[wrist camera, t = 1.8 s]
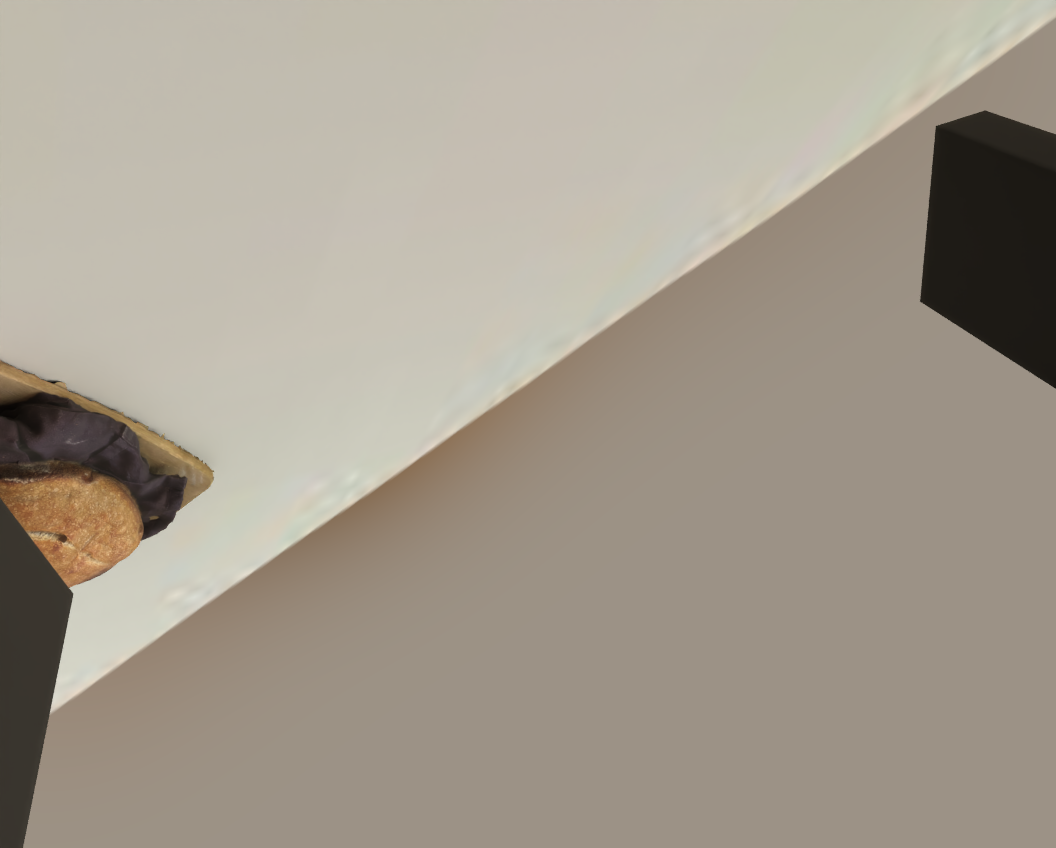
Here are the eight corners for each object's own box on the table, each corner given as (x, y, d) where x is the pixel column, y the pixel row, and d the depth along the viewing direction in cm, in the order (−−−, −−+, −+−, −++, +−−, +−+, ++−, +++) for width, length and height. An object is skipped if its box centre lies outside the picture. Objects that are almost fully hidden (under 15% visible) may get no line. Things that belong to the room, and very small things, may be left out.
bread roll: (226, 457, 33) (252, 532, 31) (62, 579, 34) (77, 660, 32) (-30, 325, 24) (-16, 419, 22) (-244, 495, 25) (-249, 600, 23)
